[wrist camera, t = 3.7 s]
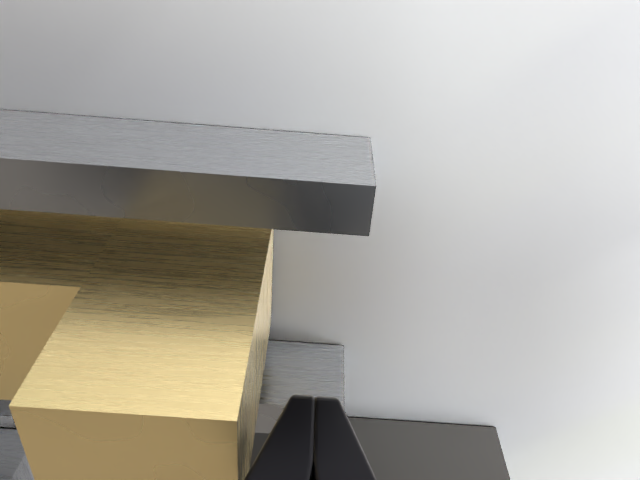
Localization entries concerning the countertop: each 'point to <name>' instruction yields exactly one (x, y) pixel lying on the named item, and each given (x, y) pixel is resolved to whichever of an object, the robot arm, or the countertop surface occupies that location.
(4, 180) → the key guide
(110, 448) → the tan boxy piece
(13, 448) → the socket collar
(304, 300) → the countertop surface
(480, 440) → the gray square tray
